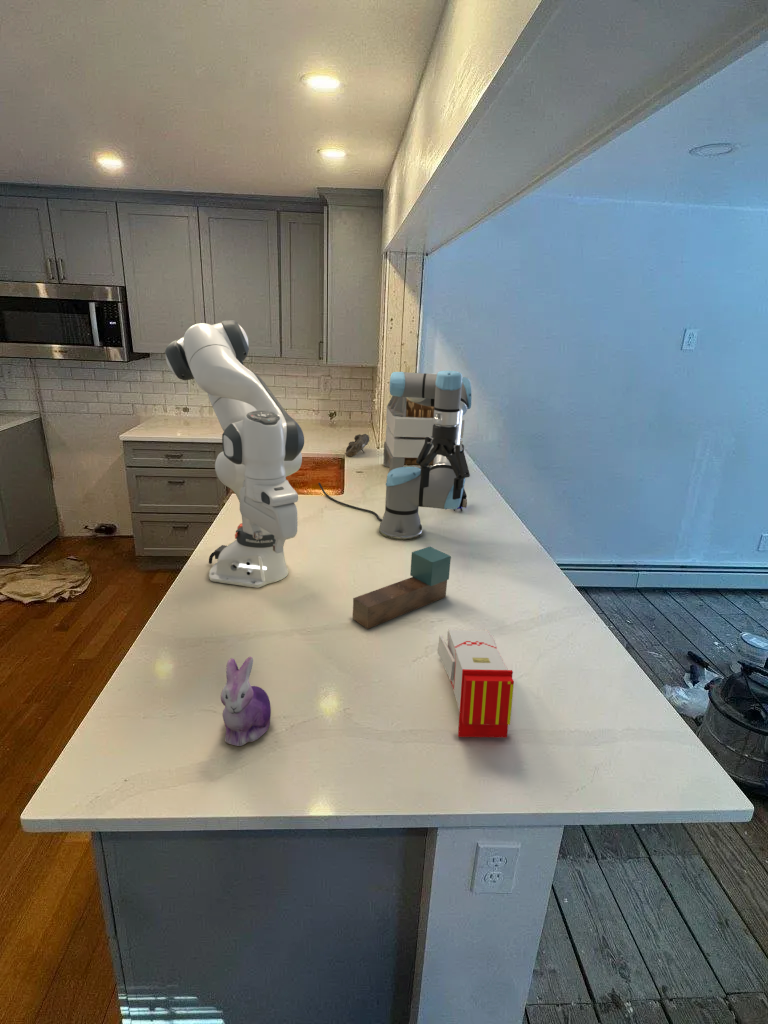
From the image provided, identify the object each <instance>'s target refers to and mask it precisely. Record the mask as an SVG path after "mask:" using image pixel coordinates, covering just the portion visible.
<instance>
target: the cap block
mask: <svg viewBox="0 0 768 1024" xmlns="http://www.w3.org/2000/svg"><path fill="white" fill-rule="evenodd" d="M451 559H452V556H451V555H449V554H447V553H446V552H443V551H441V550H439V549H437V548H434V547H433V546H427V547H423V548H421V549H417V550H414V551H411V557H410V577H414V578H416V579H418V580H420V581H422V582H424V583H426V584H427V585H429V586H433V585H435V584H438V583H441V582H443V581H446V580H447V581H448V580H450V571H451V562H452V561H451Z"/></svg>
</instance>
